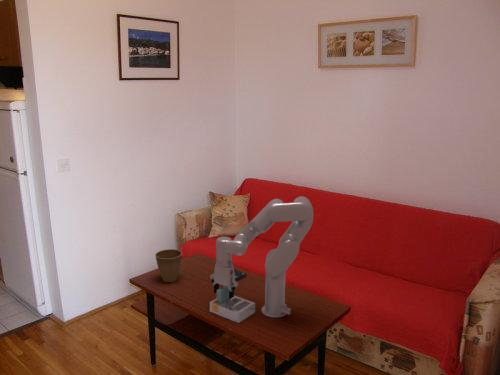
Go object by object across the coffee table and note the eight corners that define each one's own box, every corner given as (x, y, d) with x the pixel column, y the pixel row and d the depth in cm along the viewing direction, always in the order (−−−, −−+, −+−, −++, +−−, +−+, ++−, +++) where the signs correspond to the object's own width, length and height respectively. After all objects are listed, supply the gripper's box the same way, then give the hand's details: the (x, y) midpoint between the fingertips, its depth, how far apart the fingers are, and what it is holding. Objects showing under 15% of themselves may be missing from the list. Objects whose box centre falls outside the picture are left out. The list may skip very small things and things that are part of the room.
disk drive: (233, 272, 260) (216, 280, 248) (233, 268, 259) (216, 275, 248) (246, 277, 253) (229, 285, 242) (246, 273, 253) (229, 280, 241)
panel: (231, 304, 216) (231, 286, 214) (220, 310, 210) (220, 291, 208) (227, 303, 218) (227, 284, 216) (216, 309, 212) (216, 290, 210)
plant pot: (174, 272, 257) (174, 247, 254) (187, 281, 246) (187, 254, 242) (151, 279, 248) (150, 252, 244) (163, 288, 236) (163, 260, 233)
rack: (255, 312, 211) (255, 302, 210) (238, 323, 200) (238, 312, 199) (226, 301, 221) (226, 292, 220) (209, 311, 211) (209, 301, 210)
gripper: (242, 264, 207) (242, 297, 211) (215, 256, 217) (215, 287, 221) (232, 269, 201) (232, 303, 205) (205, 260, 211) (205, 292, 215)
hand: (223, 295), depth 213 cm, fingers open, 9 cm apart
